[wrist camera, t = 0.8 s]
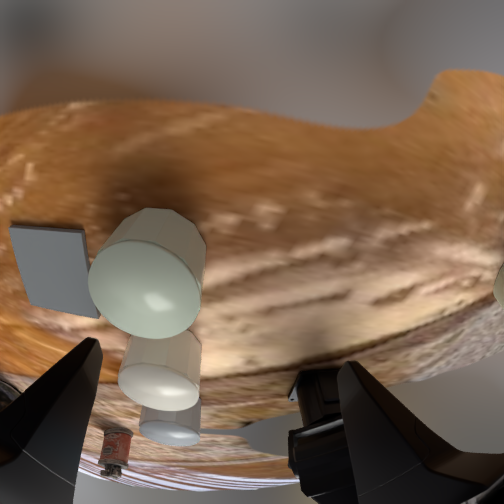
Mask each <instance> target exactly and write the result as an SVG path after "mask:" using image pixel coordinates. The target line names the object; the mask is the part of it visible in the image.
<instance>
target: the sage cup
mask: <svg viewBox="0 0 504 504" xmlns="http://www.w3.org/2000/svg"><path fill="white" fill-rule="evenodd" d="M205 259H206V245H205V243H204V241H203V239H202V237H201V235H200V234H199V232H198V230H197V228H196V226H195V224H193V223H192V222H190V221H189V220H187V219H186V218H184V217H182V216H181V215H179V214H178V213H176V212H175V211H173V210H171V209H157V208H144V209H142V210H140V211H138V212H136V213H135V214H133V215H131V216H129V217H127V218H125V219H124V220H123V221H122V222H121V224H120V225H119V226H118V227H117V228H116V230H115V231H114V232H113V233H112V235H111V236H110V237H109V238H108V240H107V241H106V242H105V243H104V245H103V246H102V247H101V248H100V250H99V251H98V253H97V256H96V258H95V260H94V261H93V263H92V265H91V267H90V270H89V275H88V287H89V292H90V295H91V298H92V300H93V302H94V304H95V306H96V307H97V309H98V310H99V311H100V313H101V314H102V315H103V316H104V317H105V318H106V319H107V320H108V321H109V322H110V323H112V324H113V325H114V326H116V327H117V328H119V329H121V330H123V331H125V332H127V333H129V334H132V335H135V336H138V337H143V338H149V339H162V338H168V337H172V336H175V335H178V334H180V333H181V332H183V331H185V330H186V329H187V328H188V327H189V326H190V325H191V324H192V323H193V322H194V320H195V319H196V317H197V314H198V312H199V311H200V305H201V297H202V288H203V280H204V272H205Z"/></svg>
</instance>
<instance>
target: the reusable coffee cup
mask: <svg viewBox="0 0 504 504" xmlns="http://www.w3.org/2000/svg"><path fill="white" fill-rule="evenodd" d="M493 294H494V296H495V298H496V299H497V301H498V302H499V304H500V305H501V307H502V308H503V309H504V264H503V266H502V268H501V269H500V271H499V274H498V276H497V278H496V281H495V284H494V289H493Z"/></svg>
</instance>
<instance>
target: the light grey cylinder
mask: <svg viewBox="0 0 504 504" xmlns="http://www.w3.org/2000/svg"><path fill="white" fill-rule="evenodd" d="M200 423H201V399H200V398H198V401H197V403H196V404H195V405H194V406H192V407H190V408H188V409H185V410H179V411H163V410H157V409H153V408H149V407H146V406H144V405H142V410H141V415H140V421H139V427H140V428H139V431H140V433H141V434H142V435H143V436H145V437H146V438H148V439H150V440H152V441H155V442H158V443H161V444H165V445H171V446H190V445H194V444H196V443H198V442H199V441H200Z"/></svg>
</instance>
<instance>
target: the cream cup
mask: <svg viewBox="0 0 504 504" xmlns="http://www.w3.org/2000/svg"><path fill="white" fill-rule="evenodd" d="M201 351H202V345H201V344H200V342H199V341H198V340H197V339H196V337H195V336H194V335H193V334H192V332H190V331H188V330H185V331H183V332H181V333H180V334H178V335H175V336H172V337H168V338H162V339H149V338H143V337H138V336H135V335H132V334H131V336H130V338H129V341H128V344H127V347H126V350H125V354H124V357H123V360H122V363H121V367H120V370H119V373H118V377H119V378H118V384H119V387H120V389H121V390H122V391H123V392H124V393H125V394H126V395H127V396H128V397H129V398H130V399H132V400H134V401H135V402H137V403H139V404H141V405H144V406H146V407H149V408H153V409H157V410H163V411H179V410H185V409H188V408H190V407H192V406H194V405H195V404H196V403H197V401H198V398H199V389H200V371H201Z"/></svg>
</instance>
